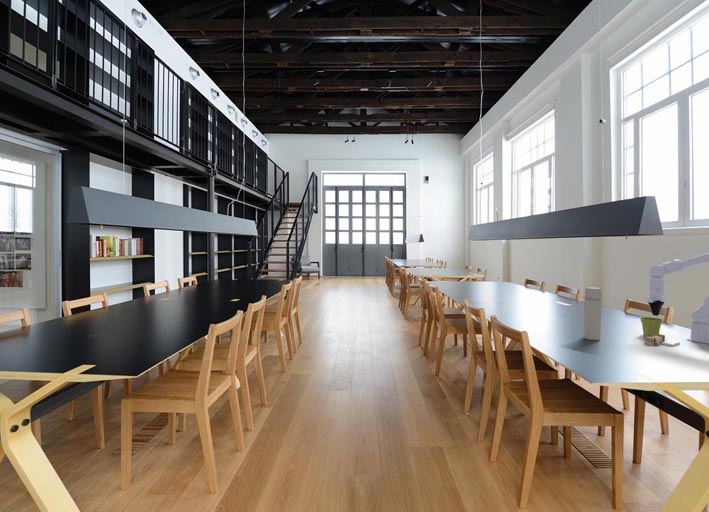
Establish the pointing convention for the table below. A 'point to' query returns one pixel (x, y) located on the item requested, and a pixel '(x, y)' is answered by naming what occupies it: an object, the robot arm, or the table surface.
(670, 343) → the mounting plate
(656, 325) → the plant pot
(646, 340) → the oak arm
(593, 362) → the table surface
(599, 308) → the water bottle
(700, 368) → the table surface
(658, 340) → the stop post
